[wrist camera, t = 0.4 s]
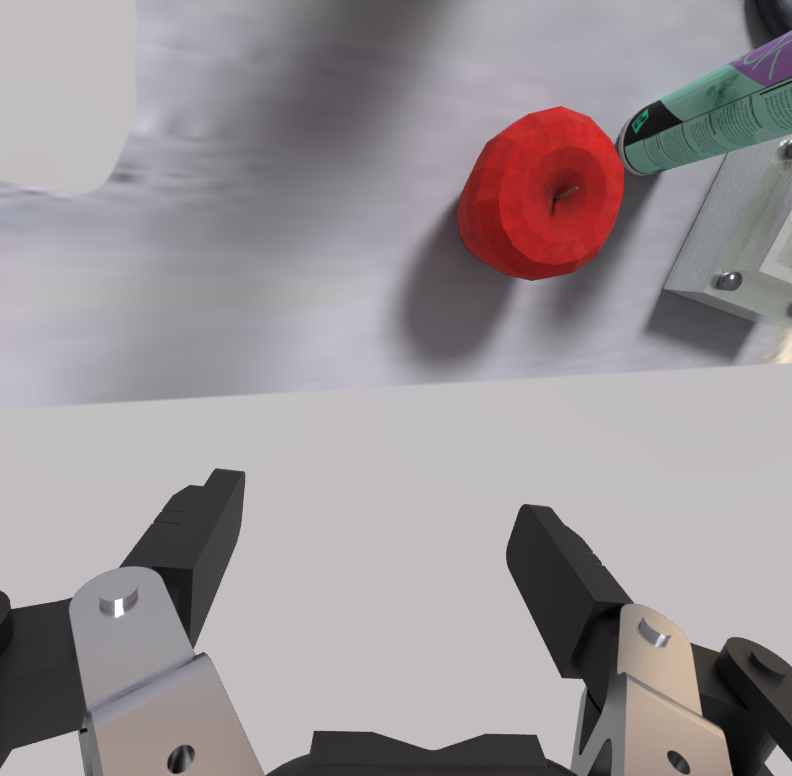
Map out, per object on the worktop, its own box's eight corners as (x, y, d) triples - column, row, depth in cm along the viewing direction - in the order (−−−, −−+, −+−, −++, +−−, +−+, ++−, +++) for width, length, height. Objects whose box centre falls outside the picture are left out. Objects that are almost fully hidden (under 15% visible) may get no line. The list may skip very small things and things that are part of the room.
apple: (431, 164, 35) (478, 108, 22) (544, 138, 35) (655, 68, 22) (452, 286, 38) (503, 299, 25) (555, 261, 38) (657, 262, 26)
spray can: (686, 142, 36) (1050, 14, 17) (640, 189, 37) (938, 116, 18) (654, 91, 35) (1014, -110, 16) (606, 142, 36) (893, 9, 17)
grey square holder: (734, 139, 37) (826, 110, 30) (831, 184, 39) (938, 168, 32) (662, 288, 40) (728, 294, 33) (755, 322, 43) (835, 335, 35)
